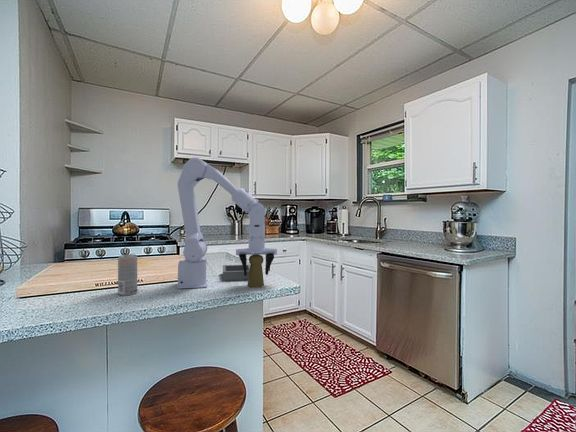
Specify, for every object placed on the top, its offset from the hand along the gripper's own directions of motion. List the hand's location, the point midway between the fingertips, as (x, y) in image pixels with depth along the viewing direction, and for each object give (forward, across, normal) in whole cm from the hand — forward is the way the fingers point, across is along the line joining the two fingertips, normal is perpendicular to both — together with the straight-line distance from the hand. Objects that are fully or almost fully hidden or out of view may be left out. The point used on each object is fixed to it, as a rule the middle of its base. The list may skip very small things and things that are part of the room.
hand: (256, 274), depth 103 cm
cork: (+4, 0, 0) cm, 4 cm away
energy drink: (+4, -41, -3) cm, 41 cm away
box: (+4, -6, +12) cm, 14 cm away
